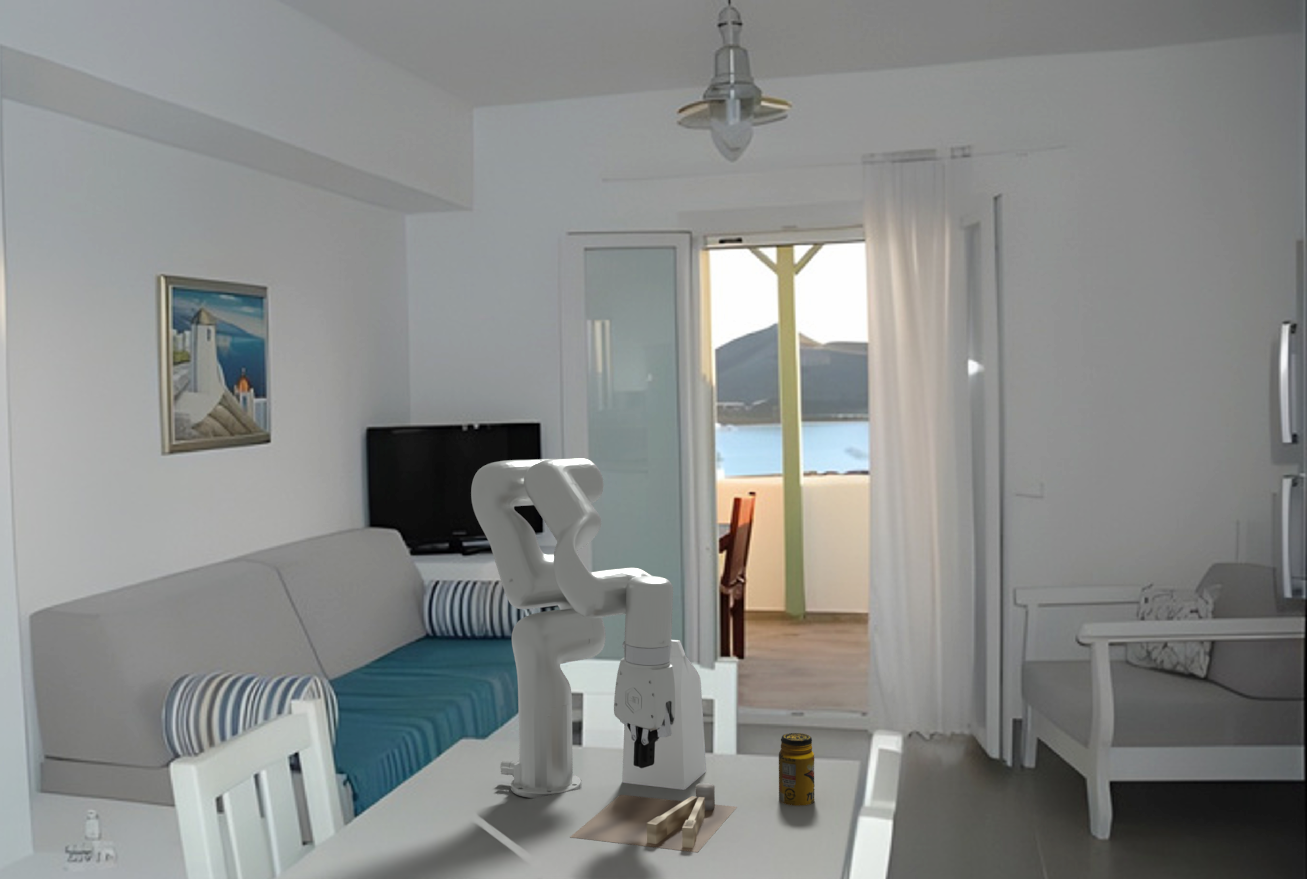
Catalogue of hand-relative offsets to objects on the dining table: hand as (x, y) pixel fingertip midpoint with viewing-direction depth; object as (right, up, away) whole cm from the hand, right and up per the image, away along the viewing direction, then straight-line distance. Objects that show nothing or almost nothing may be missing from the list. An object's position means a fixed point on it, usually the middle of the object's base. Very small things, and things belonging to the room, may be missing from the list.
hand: (643, 765), depth 201 cm
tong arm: (+5, -9, -3) cm, 11 cm away
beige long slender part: (+9, -9, -1) cm, 13 cm away
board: (+2, -10, 0) cm, 10 cm away
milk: (+4, -10, +24) cm, 26 cm away
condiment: (+25, -10, +10) cm, 29 cm away
